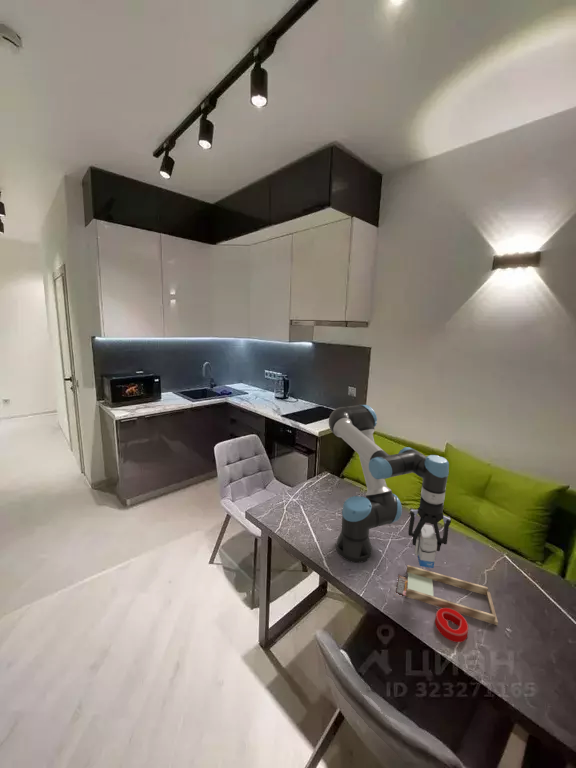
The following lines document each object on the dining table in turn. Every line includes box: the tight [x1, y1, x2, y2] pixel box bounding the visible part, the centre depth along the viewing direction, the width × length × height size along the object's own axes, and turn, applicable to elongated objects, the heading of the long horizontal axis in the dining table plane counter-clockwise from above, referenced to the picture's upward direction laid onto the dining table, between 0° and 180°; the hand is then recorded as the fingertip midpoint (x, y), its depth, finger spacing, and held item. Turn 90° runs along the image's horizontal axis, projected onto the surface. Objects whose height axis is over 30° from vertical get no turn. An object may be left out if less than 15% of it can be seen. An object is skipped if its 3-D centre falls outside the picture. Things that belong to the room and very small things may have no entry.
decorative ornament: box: [434, 607, 469, 643], centre depth 105 cm, size 10×10×3 cm
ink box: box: [416, 523, 437, 569], centre depth 116 cm, size 8×5×12 cm, turn 168°
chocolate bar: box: [395, 574, 408, 597], centre depth 121 cm, size 11×5×1 cm, turn 154°
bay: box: [405, 564, 499, 626], centre depth 117 cm, size 29×13×3 cm, turn 69°
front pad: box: [407, 572, 435, 597], centre depth 121 cm, size 9×11×1 cm
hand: (424, 554), depth 117 cm, fingers closed on ink box, 5 cm apart
